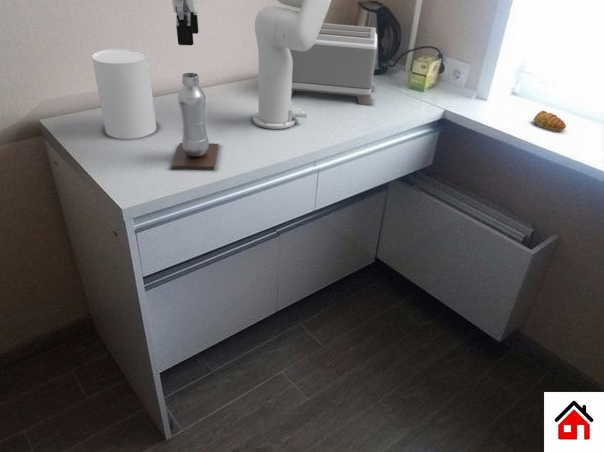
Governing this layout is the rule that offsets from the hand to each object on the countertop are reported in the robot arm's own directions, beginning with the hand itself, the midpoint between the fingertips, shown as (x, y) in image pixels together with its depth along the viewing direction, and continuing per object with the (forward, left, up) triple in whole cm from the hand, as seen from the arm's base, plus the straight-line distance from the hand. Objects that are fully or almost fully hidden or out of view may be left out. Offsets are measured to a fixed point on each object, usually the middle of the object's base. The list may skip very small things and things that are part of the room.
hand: (188, 38), depth 110 cm
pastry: (-106, -26, -29) cm, 113 cm away
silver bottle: (0, +1, -28) cm, 28 cm away
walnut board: (0, +1, -29) cm, 29 cm away
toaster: (-37, -52, -29) cm, 70 cm away
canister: (+20, -16, -29) cm, 39 cm away
